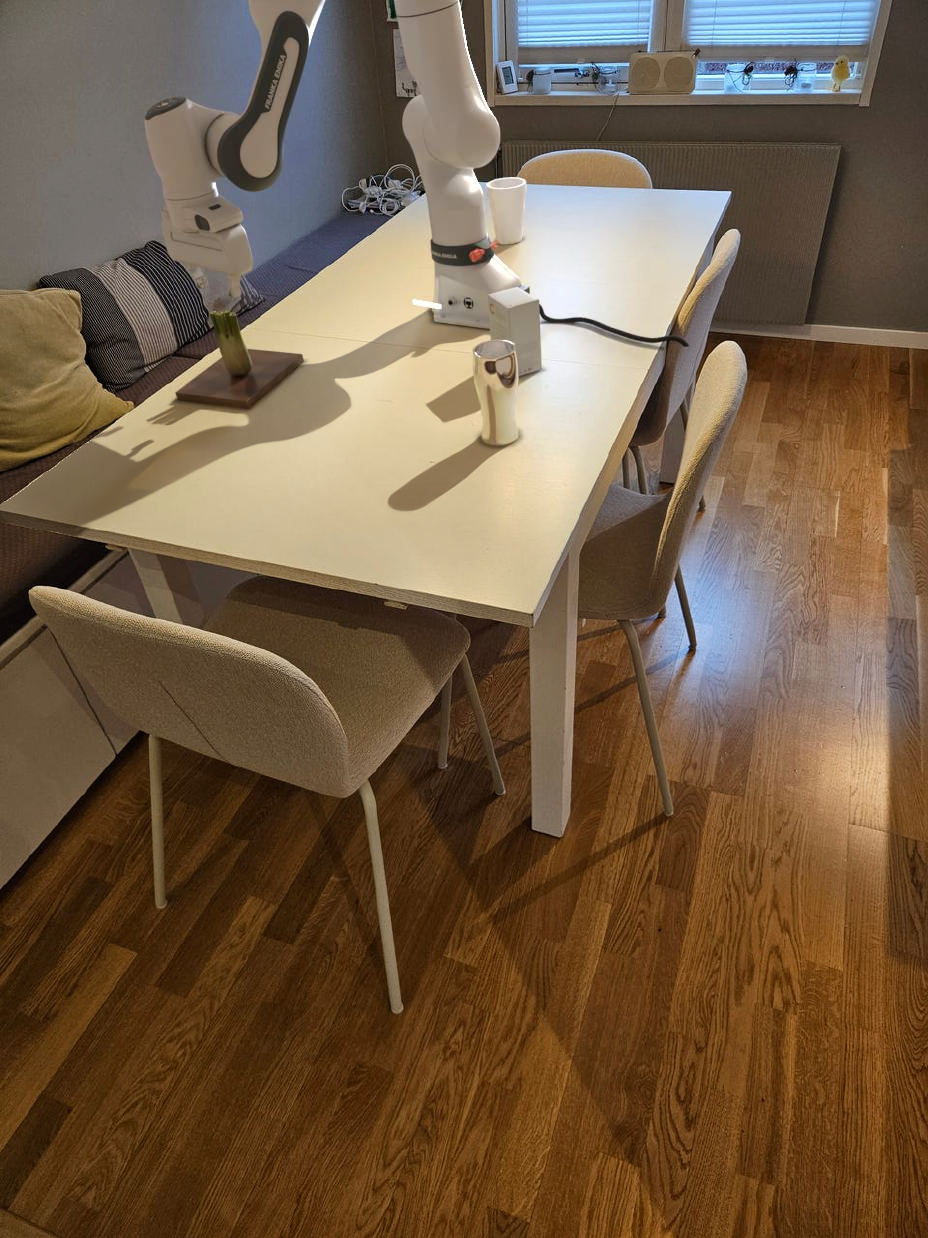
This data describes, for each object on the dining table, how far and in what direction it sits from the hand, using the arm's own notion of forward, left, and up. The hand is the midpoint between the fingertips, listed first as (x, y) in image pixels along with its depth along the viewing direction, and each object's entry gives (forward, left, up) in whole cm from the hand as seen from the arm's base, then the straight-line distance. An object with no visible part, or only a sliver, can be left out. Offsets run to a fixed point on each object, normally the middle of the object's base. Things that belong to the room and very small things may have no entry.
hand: (218, 291), depth 155 cm
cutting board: (0, 0, -17) cm, 17 cm away
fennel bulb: (0, 0, -16) cm, 16 cm away
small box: (-43, -30, -17) cm, 55 cm away
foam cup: (+1, -86, -17) cm, 87 cm away
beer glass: (-56, -8, -17) cm, 60 cm away
